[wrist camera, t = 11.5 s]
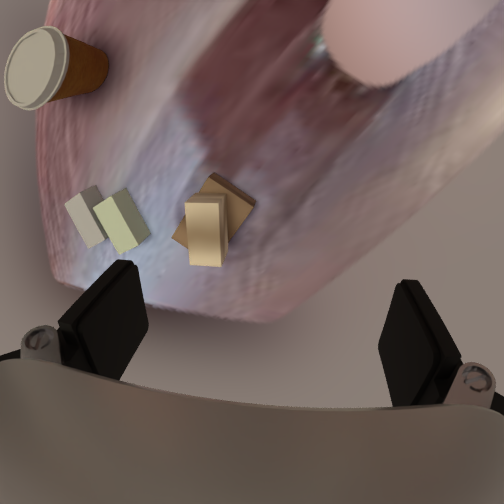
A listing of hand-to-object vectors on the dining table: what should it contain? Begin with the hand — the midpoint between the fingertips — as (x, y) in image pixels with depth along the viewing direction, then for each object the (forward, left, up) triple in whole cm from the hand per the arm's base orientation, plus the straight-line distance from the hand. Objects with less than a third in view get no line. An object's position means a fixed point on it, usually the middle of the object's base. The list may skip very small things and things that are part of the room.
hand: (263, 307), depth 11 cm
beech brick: (+6, -8, -24) cm, 26 cm away
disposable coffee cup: (-14, -25, -26) cm, 39 cm away
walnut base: (+6, -8, -27) cm, 29 cm away
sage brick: (+7, -20, -26) cm, 34 cm away
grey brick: (+6, -25, -26) cm, 37 cm away
